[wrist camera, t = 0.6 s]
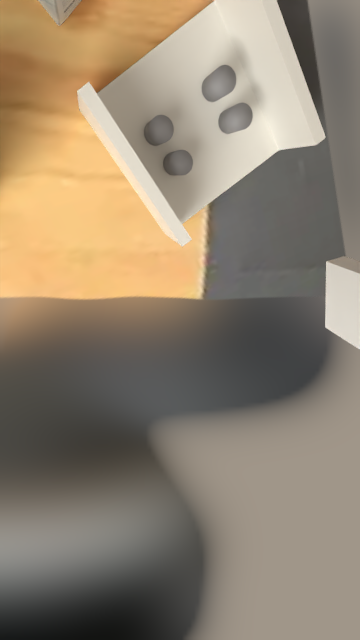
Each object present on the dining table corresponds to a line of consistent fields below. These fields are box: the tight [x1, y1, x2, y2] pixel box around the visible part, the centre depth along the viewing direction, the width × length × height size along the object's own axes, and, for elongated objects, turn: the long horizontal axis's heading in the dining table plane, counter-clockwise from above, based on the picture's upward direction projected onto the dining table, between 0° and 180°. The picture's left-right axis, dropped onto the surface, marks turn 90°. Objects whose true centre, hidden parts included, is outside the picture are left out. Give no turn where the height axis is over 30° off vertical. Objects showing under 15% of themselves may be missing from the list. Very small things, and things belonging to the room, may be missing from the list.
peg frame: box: [77, 0, 326, 246], centre depth 28 cm, size 13×15×7 cm
